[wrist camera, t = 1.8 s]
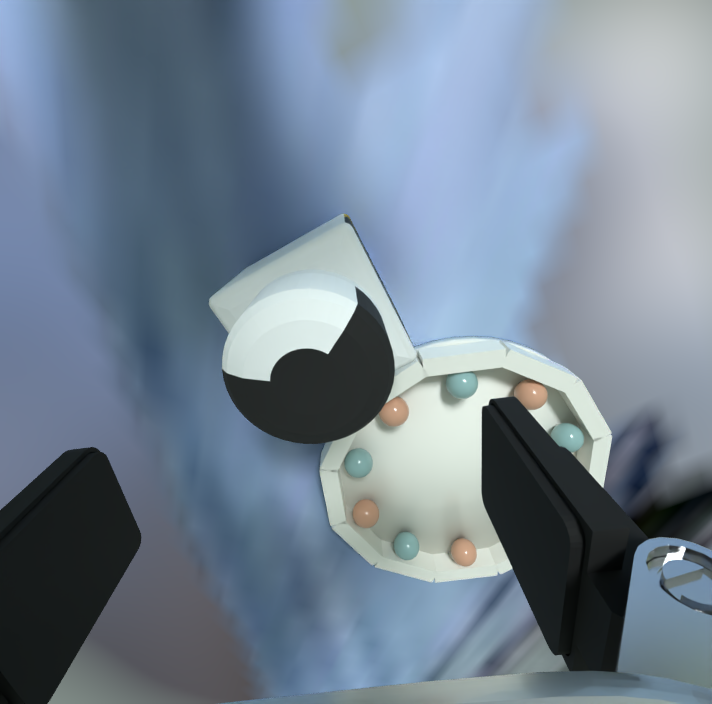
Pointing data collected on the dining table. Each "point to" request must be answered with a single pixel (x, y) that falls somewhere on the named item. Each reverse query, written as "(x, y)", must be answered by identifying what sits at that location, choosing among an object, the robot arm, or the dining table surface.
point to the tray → (448, 456)
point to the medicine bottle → (311, 337)
